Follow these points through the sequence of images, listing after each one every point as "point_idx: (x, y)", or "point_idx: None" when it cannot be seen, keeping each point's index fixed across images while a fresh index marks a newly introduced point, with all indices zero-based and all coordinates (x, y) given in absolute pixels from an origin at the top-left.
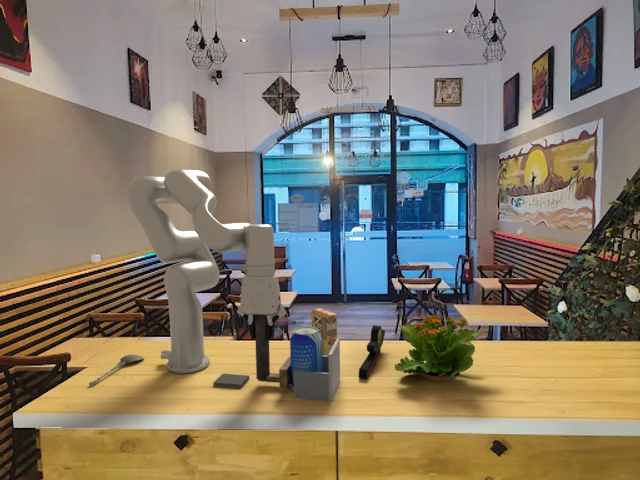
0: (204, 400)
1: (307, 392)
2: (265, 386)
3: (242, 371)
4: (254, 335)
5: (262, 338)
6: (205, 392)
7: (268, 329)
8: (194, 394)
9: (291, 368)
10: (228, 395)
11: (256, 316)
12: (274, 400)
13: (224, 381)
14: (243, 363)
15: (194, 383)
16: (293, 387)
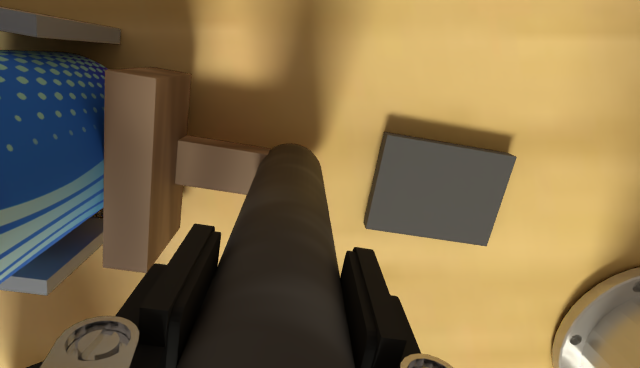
0: (529, 7)
1: (30, 12)
2: None
3: (404, 292)
4: (348, 276)
5: (260, 233)
6: (534, 89)
7: (162, 278)
8: (580, 69)
9: (88, 110)
10: (429, 59)
11: None
12: (209, 6)
13: (468, 166)
14: None
15: (591, 177)
16: None
